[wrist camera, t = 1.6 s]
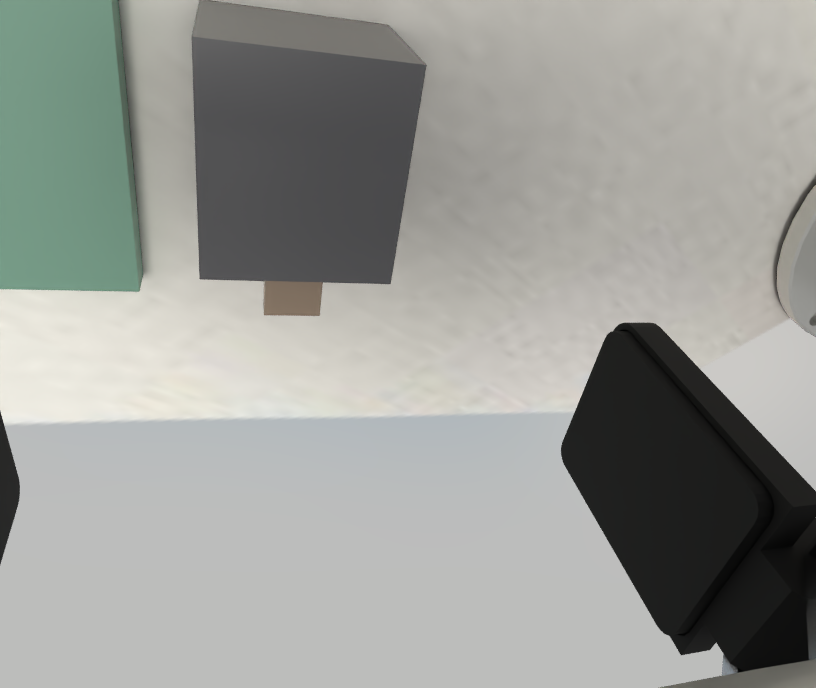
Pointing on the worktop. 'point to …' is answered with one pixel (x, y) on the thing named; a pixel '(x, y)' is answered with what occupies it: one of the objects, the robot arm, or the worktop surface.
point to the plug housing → (300, 149)
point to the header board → (65, 149)
